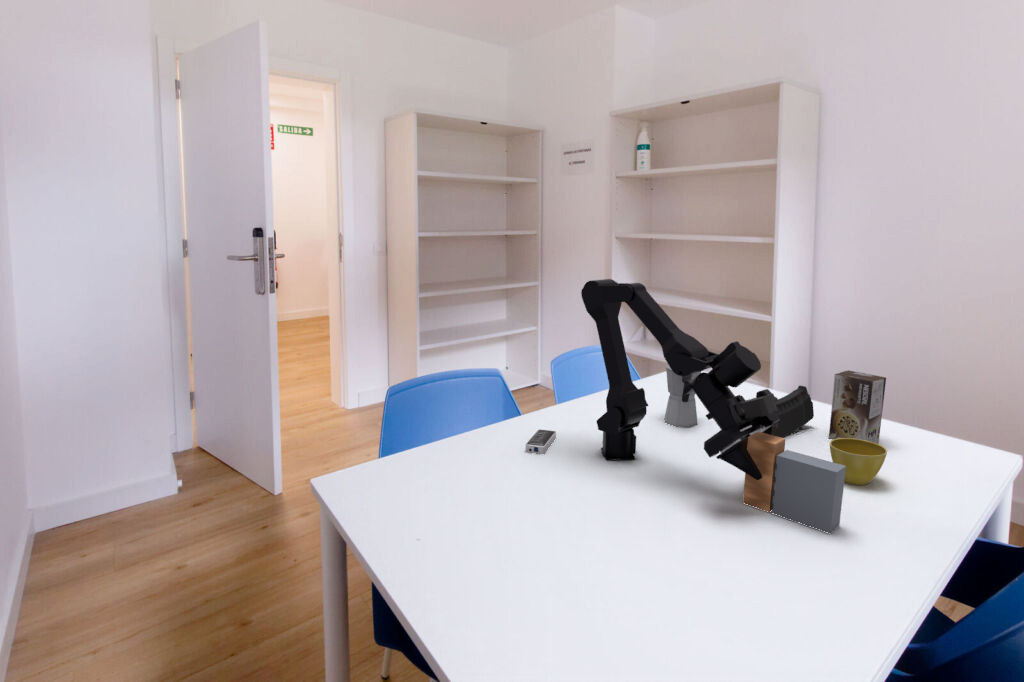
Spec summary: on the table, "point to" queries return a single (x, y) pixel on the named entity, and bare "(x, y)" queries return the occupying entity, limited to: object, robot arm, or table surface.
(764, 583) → the table surface
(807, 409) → the magazine
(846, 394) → the coffee box
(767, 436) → the wooden post
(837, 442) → the yellow bowl
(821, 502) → the grey flat block
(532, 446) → the multiport hub
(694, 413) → the coffee maker
